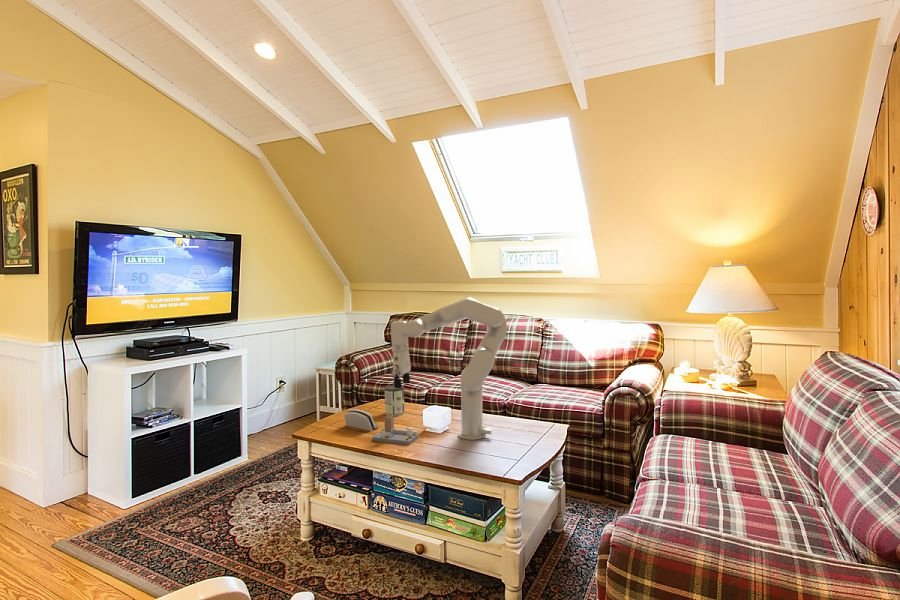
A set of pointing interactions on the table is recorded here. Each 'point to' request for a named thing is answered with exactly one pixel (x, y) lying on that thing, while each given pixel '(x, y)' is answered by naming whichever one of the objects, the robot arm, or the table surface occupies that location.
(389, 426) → the trammel slider
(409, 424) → the table surface
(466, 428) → the robot arm
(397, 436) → the gauge board
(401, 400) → the coffee can
